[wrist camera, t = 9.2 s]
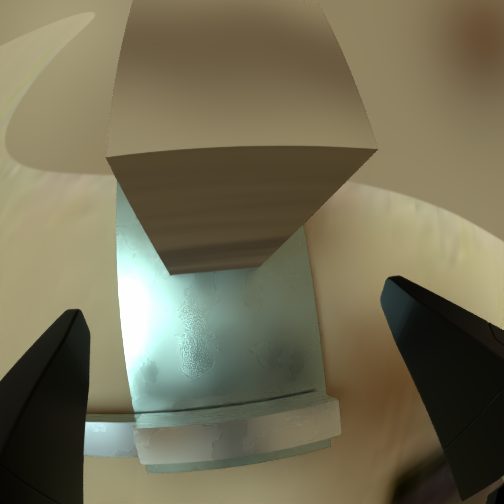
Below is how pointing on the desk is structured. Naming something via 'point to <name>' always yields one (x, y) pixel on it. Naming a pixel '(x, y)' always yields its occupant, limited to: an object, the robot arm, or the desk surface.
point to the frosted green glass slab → (216, 334)
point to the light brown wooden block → (214, 430)
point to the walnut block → (231, 126)
